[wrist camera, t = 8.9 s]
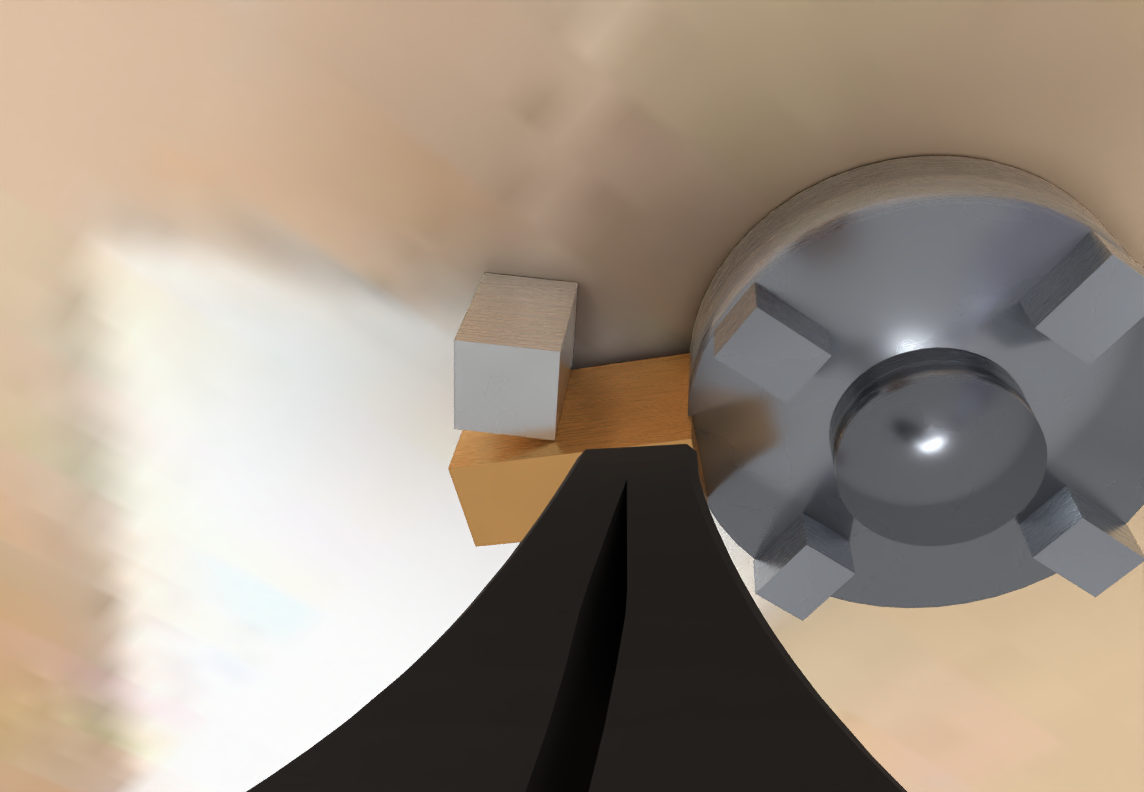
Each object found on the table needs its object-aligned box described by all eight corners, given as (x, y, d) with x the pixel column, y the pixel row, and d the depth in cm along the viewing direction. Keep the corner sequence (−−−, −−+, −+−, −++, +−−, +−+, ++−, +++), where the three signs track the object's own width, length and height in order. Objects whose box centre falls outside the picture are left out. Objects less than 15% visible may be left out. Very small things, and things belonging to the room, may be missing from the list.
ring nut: (1153, 113, 18) (1248, 185, 15) (1126, 511, 22) (1195, 631, 19) (435, 238, 21) (387, 320, 17) (539, 567, 25) (514, 680, 22)
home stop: (690, 278, 21) (688, 348, 18) (683, 455, 23) (681, 539, 20) (471, 272, 21) (439, 339, 19) (486, 446, 23) (459, 527, 21)
